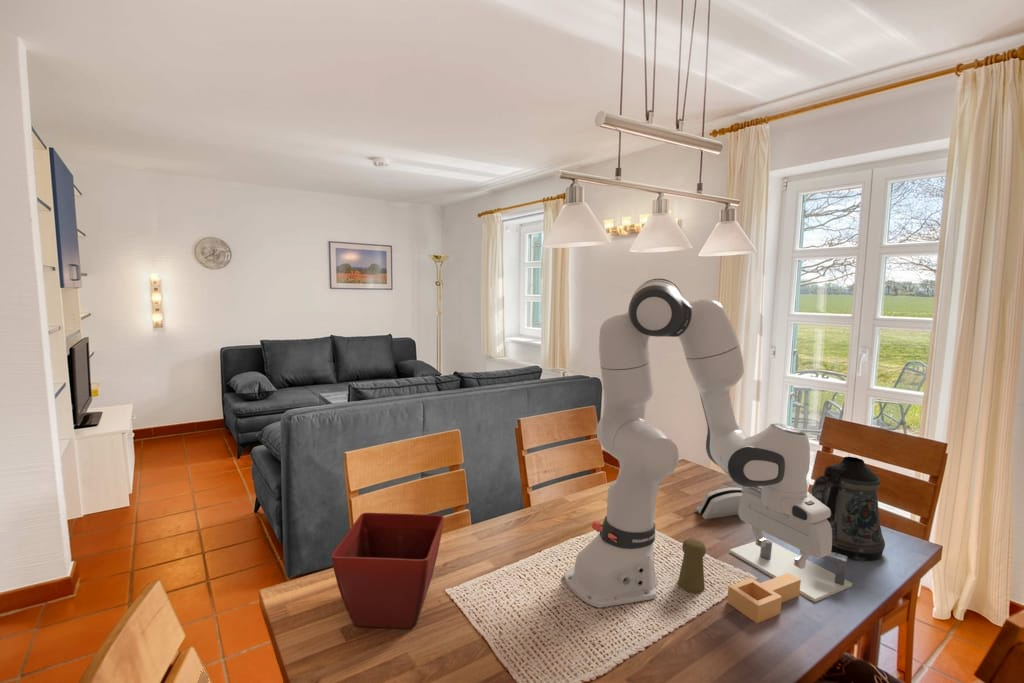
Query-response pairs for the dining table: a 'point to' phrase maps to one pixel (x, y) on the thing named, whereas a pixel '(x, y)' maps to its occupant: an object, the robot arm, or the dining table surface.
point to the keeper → (838, 566)
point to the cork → (692, 566)
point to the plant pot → (387, 567)
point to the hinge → (721, 503)
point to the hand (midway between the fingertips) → (779, 555)
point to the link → (763, 596)
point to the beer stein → (852, 508)
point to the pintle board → (790, 569)
